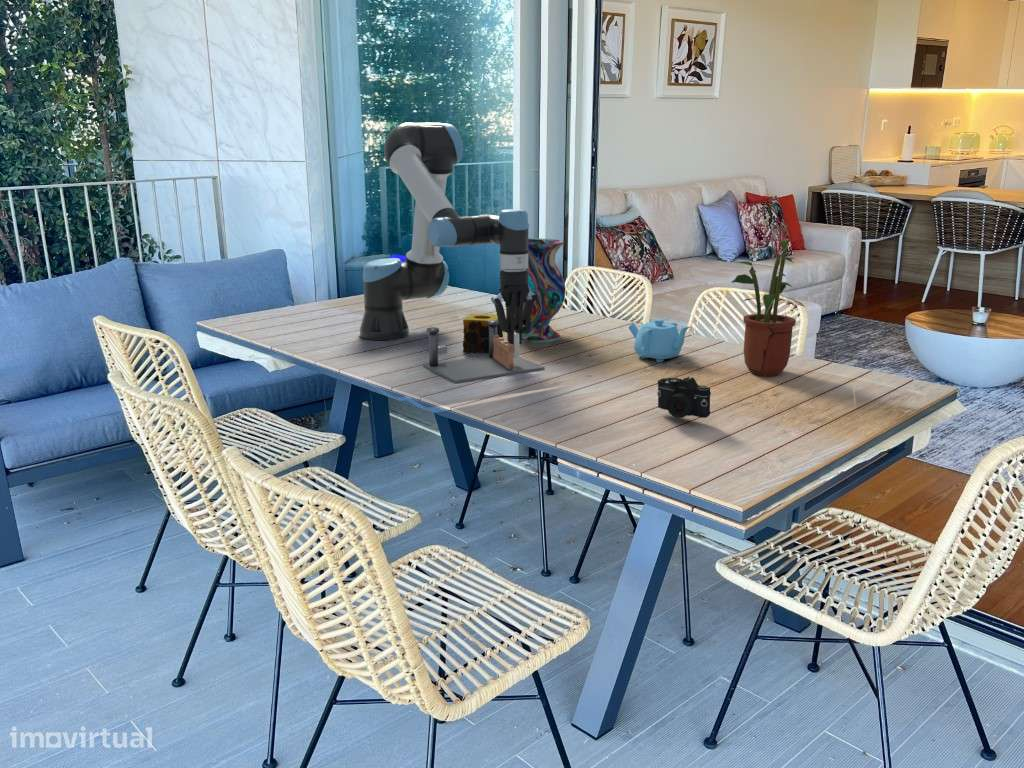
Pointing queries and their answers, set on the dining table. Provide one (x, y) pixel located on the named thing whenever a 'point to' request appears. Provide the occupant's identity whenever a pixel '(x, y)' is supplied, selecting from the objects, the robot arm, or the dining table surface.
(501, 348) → the gate
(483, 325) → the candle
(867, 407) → the dining table surface
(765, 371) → the potted plant
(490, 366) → the mat
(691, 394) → the film camera
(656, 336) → the teapot
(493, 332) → the glossy grey waisted cylinder
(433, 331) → the latch post
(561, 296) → the vase
